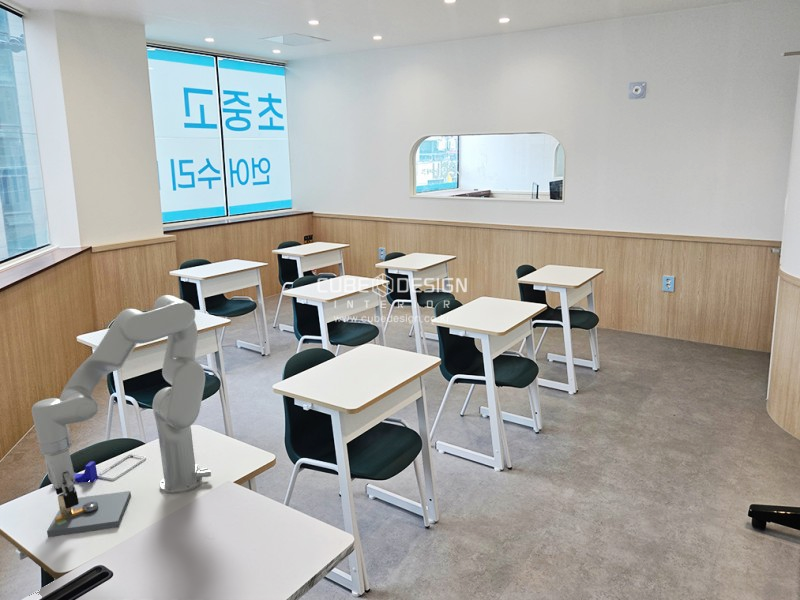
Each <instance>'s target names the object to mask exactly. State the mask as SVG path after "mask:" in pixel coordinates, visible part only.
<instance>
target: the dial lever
mask: <svg viewBox="0 0 800 600" xmlns="http://www.w3.org/2000/svg"><path fill="white" fill-rule="evenodd" d="M63 495H64V493H61V494H59V495H58V496H57V502H58V506H59V508H58V509H59V510H60V513H61V516H59V517H56V518H55V517H54V518H55V521H56V522H58V521H61V520H63V519H66V518H69V517H72V516H74V515H77V514H80V513H83V512H84V513H92V512H94V511H96V510H97V509H98V503H97V502H89V503H86V504H85V505H83V507H82V508H81V509H78V510H76V511H73V509H72V507H70V508H68V509H67V508H66V507H65V502H64V498H63Z"/></svg>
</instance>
